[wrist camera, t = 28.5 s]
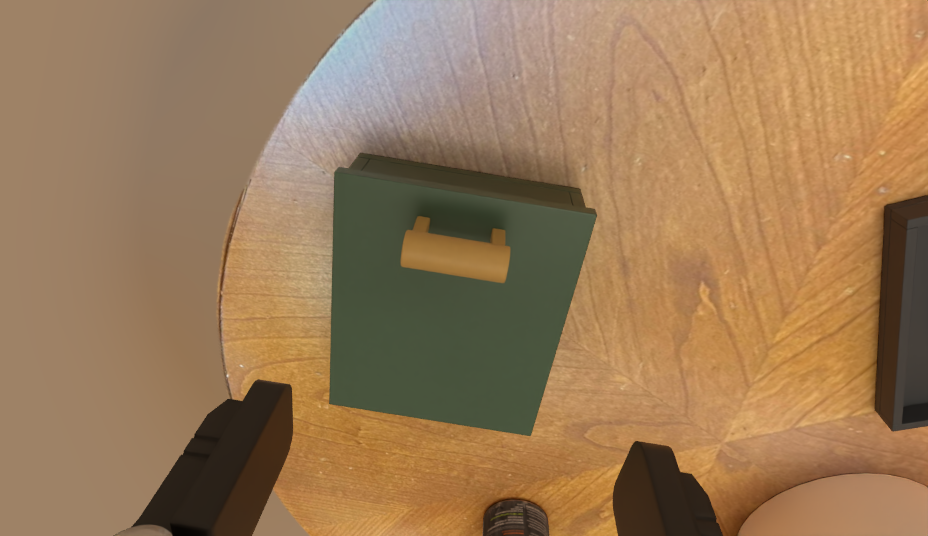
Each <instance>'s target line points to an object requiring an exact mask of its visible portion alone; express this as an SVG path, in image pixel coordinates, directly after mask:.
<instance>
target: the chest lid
mask: <svg viewBox="0 0 928 536" xmlns="http://www.w3.org/2000/svg"><path fill="white" fill-rule="evenodd" d="M596 217H597V214H596V211H595V209H591V208H585V207H579V206H573V205H567V204H561V203H555V202H549V201H543V200H537V199H531V198H525V197H519V196H512V195H506V194H500V193H494V192H488V191H482V190H476V189H470V188H464V187H458V186H452V185H446V184H439V183H433V182H427V181H421V180H415V179H409V178H403V177H397V176H391V175H385V174H379V173H373V172H367V171H360V170H354V169H348V168H342V167H338V168H337V170H336V171H335V172H334V216H333V262H332V307H331V353H330V398H329V404H333V405H339V406H345V407H351V408H358V409H364V410H370V411H376V412H383V413H389V414H395V415H402V416H408V417H414V418H420V419H427V420H433V421H439V422H445V423H452V424H458V425H464V426H470V427H477V428H483V429H489V430H496V431H502V432H508V433H514V434H521V435H527V436H531V433H532V430H533V427H534V423H535V420H536V417H537V413H538V410H539V407H540V403H541V400H542V397H543V393H544V390H545V387H546V383H547V380H548V377H549V373H550V370H551V367H552V364H553V360H554V357H555V354H556V350H557V347H558V344H559V340H560V337H561V334H562V330H563V327H564V324H565V320H566V317H567V314H568V310H569V307H570V304H571V300H572V297H573V294H574V290H575V287H576V284H577V280H578V277H579V274H580V270H581V267H582V264H583V260H584V257H585V254H586V251H587V247H588V244H589V241H590V237H591V234H592V231H593V227H594V224H595V221H596Z"/></svg>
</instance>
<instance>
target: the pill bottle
mask: <svg viewBox="0 0 928 536" xmlns="http://www.w3.org/2000/svg"><path fill="white" fill-rule="evenodd" d="M483 536H549V525H548V518H547V516H546V514H545V512H544V511H543V510H542V509H541V508H539V507H538V506H536V505H535V504H533V503H530V502H527V501H522V500H506V501H502V502H499V503H496V504H495V505H493V506H491V507H490V508H489V509H488V510H487V511H486V513H485V515H484V518H483Z"/></svg>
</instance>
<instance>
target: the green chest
mask: <svg viewBox="0 0 928 536" xmlns="http://www.w3.org/2000/svg"><path fill="white" fill-rule="evenodd" d="M348 169H354V170H360V171H367V172H373V173H379V174H385V175H391V176H397V177H403V178H409V179H415V180H421V181H427V182H433V183H439V184H446V185H452V186H458V187H464V188H470V189H476V190H482V191H488V192H494V193H500V194H506V195H512V196H519V197H525V198H531V199H537V200H543V201H549V202H555V203H561V204H567V205H573V206H579V207H585V208H586V206H585V203H584V200H583V197H582V194H581V190H580V189H577V188H571V187H565V186H559V185H553V184H547V183H540V182H534V181H528V180H522V179H516V178H510V177H504V176H498V175H492V174H486V173H480V172H474V171H468V170H462V169H456V168H450V167H443V166H437V165H431V164H425V163H419V162H413V161H407V160H401V159H395V158H389V157H383V156H377V155H371V154H365V153H360V154H359V155H358V157H357V158H356V159H355V161H354V162H353V163H352V164H351V166H350V167H349V168H348Z"/></svg>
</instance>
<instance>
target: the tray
mask: <svg viewBox="0 0 928 536" xmlns="http://www.w3.org/2000/svg"><path fill="white" fill-rule="evenodd" d="M875 411H876V412H877V413H878V414H879V415H880V417H881V418H882V419H883V421H884V422H885V423H886V424H887V425H888V427H889V428H890V429H891V430H892V431H899V430H905V429H912V428H918V427H925V426H928V196H924V197H920V198H916V199H911V200H907V201H903V202H899V203H895V204H890V205H886V206H885V221H884V241H883V261H882V281H881V301H880V322H879V342H878V362H877V382H876V402H875Z"/></svg>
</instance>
